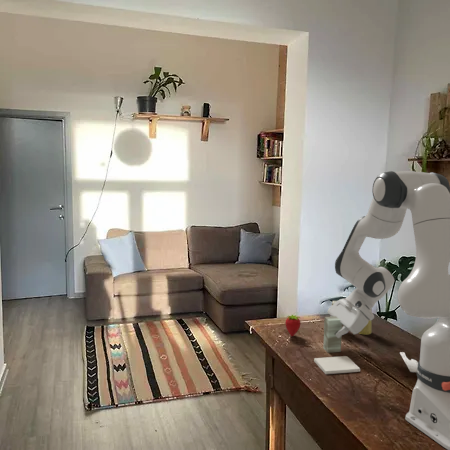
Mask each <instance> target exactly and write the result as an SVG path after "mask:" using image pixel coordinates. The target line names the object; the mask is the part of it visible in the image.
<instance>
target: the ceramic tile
mask: <svg viewBox="0 0 450 450" xmlns="http://www.w3.org/2000/svg"><path fill="white" fill-rule="evenodd" d="M313 359H314V360H313V362H314V363H315V364H316V365H317V366H318V368H319V369H320V370H321V371H322V372H323V373H324V374H325V375H333V374H334V375H335V374H347V373H357V372H361V368H360V367H359V366H358V365H357V364H356V363H355V362H354V361H353V360H352V359H351V358H350V357H348V356H346V355H343V356H341V355H340V356H328V357H315V358H313Z"/></svg>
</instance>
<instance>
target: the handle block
mask: <svg viewBox="0 0 450 450" xmlns="http://www.w3.org/2000/svg"><path fill="white" fill-rule="evenodd" d="M323 325H324V326H323V346H322V347H323V349H324V351H325V352H327V353H328V354H330V353H341V352H342V336H341V337H340V338H337V337H336V336H335V335H334V333H335V332H336V331H339V330H341V329H342V323H340V319H339V318H337V317H336V316H332V317H330V316H324V323H323Z"/></svg>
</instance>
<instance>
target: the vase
mask: <svg viewBox="0 0 450 450" xmlns="http://www.w3.org/2000/svg"><path fill="white" fill-rule="evenodd" d="M371 311H372V312H373V309H371ZM372 333H373V332H372V320H371V321H370V320H369V322H368V324H367V325H366V326H365V327H364V328H363V329H362V330H361V331H360V332H359V333H358V334H359V335H363V336H364V335H365V336H366V335H367V336H368V335H371V334H372Z"/></svg>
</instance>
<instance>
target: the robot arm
mask: <svg viewBox="0 0 450 450" xmlns="http://www.w3.org/2000/svg"><path fill="white" fill-rule="evenodd" d="M372 196H373V197H372V199H371V202H370V205H369V209H368V212H367V213H366V215H364V216H361V217H360V218H358V220H357V221H356V222H355V224H354V225H353V227H352V230H350V232H349V233H350V234H349V236H348V237H347V240H346V242H345V244H344V246H343V248H342V250H341V252H339V255H338V256H337V257H336V259H335V262H334V270H335V273H336V275H338V276H340V278H342V279H344V280H345V281H347V282H349V283H350V284H351V285H352V286H353V287H355V289H353V291H351V292H350V293H349V294H348V296H347V297H345V298H340V299H339V300H336V301H337V302H335V303H334V304H333V305H332V304H331V306H330V307H329V308H328V310H327V313H328V314H329V317H332V316H336V317H337V318H339V319H340V323H342V325H343V327H342V329H341V330H339V331H336V332H335V333H334V335H335V336H336V337H337V338H340V337H341V338H342V336H344V335H346V334H348V333H349V332H350V333H352V334H353V335H358V334H359V332H360V331H361V330H362V329H363V328H364V327H365V326H366V325H367V324H368V322H369V320H370V321H371V322H372V321H373V320H374V319H375V315H374V313H373V309H372V308H374V306H375V304H376V303H377V302H378V301H380V300H382V299H383V297H384V296H386V294H387V293H388V291H390V289H391V288H392V287H393V285H394V283H395V278H394V275H393V274H392V273H391V272H390V270H389V269H387V268H386V267H384V266H378V267H376V266H373V265H372V264H370V263H369V262H368V261H366V259H364V258H362V257H361V255H360V249H361V247H362V246H363V244H364V242H365V240H366V238H371V239H375V240H376V239H377V240H380V239H381V240H384V239H389V238H391V237H394V236H395V235H396V234H398V232H399V231H400V229H401V228H402V225H403V222H404V220H405V216H406V213H407V210H410V213H411V219H412V227H413V234H414V241H415V261H414V264H413V268H412V270H411V271H410V273H409V274H408V276H407V277H406V278H405V279H404V280H403V281H402V282H401V283H400V285H399V286H398V287H399V288H398V290H397V300H398V301H397V302H398V304H399V306H400V308H401V309H402V311H403V313H405V314H406V315H408V316H409V317H415V318H421V319H428V320H429V319H437V320H436V321H435V323H434V324H433V325H432V326H430V327H429V328H428V329H427V330H425V331H424V332H423V334H422V335H421V339H420V349H419V351H420V354H419V361H417V362H418V367H417V372H416V376H417V380H416V383H415V385H414V387H413V389H412V394H411V398H410V399H411V400H410V405H409V411H408V412H407V413H406V414H405V418H404V419H405V420H406V421H407V422H408V423H410V424H411V425H412V426H413V427H415V428H417V429H418V430H419V431H420V432H422V433H424V434H425V435H426V436H428V437H429V438H430V439H431V440H432V441H433V440H434V441H435V442H436V443H437V444H439V445H440V446H442V447H443V448H445V449H446V450H450V274H449V265H450V183H449V180H448V178H447V177H446V176H444V175H443V174H440V173H438V172H437V173H436V172H423V171H414V170H401V171H392V170H390V171H385V172H381V173H379V174H378V175H377V176H376V178H375V180H373V184H372ZM371 309H372V311H371Z"/></svg>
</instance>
